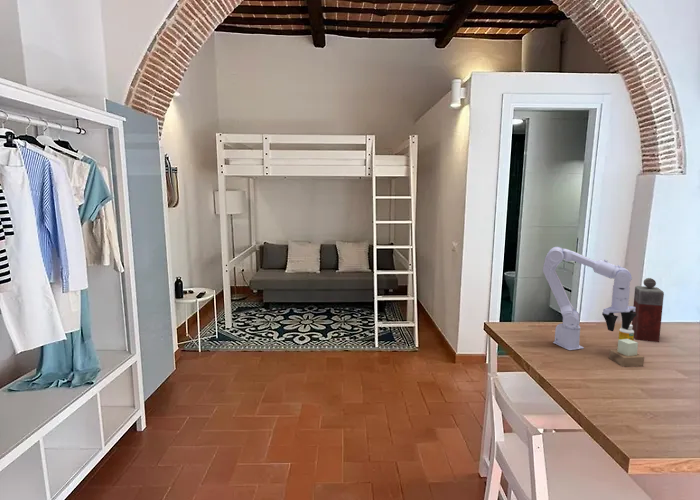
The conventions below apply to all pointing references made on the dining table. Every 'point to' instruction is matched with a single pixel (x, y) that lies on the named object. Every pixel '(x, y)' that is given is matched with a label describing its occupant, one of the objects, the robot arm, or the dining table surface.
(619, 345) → the sage block
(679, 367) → the dining table surface
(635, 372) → the dining table surface
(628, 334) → the supplement bottle
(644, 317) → the red lidded box
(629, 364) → the walnut block
